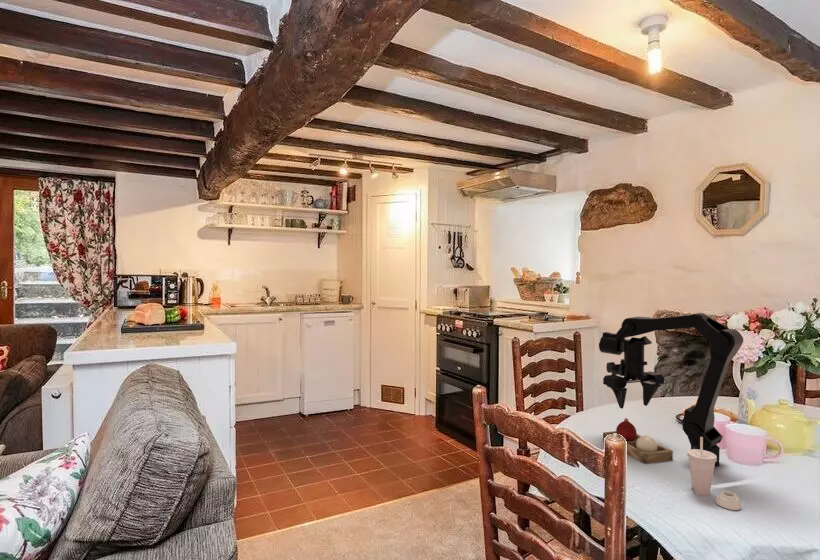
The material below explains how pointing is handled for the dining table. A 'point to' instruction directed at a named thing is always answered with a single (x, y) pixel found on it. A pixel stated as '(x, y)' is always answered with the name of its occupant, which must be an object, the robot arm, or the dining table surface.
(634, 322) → the robot arm
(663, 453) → the egg tray
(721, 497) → the beige round hollow piece
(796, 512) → the dining table surface
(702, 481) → the smoothie
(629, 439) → the onion
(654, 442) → the cream egg
